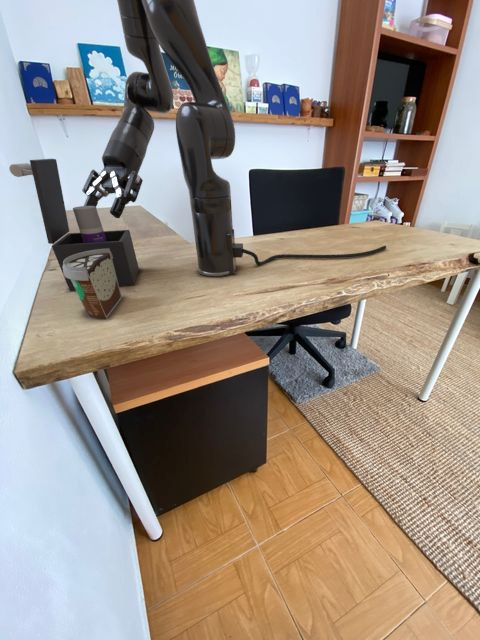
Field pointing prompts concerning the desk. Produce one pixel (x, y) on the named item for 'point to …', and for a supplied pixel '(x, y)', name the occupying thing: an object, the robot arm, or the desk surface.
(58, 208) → the lid
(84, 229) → the container
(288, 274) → the desk surface
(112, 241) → the dark grey open box
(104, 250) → the food container
